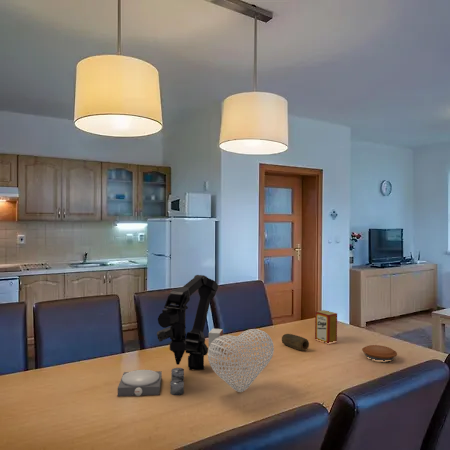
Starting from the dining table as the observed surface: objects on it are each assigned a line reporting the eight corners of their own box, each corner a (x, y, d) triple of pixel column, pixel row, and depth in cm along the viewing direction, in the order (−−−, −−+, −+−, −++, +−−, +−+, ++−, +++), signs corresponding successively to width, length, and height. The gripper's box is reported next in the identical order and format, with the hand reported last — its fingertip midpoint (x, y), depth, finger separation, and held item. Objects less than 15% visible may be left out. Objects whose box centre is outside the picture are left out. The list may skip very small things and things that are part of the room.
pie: (361, 361, 184) (361, 350, 184) (362, 351, 198) (363, 341, 198) (397, 366, 178) (397, 355, 178) (396, 355, 193) (396, 345, 193)
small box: (219, 355, 190) (219, 333, 190) (208, 354, 191) (208, 332, 191) (222, 349, 198) (223, 328, 198) (212, 349, 199) (212, 328, 199)
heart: (226, 410, 134) (226, 344, 134) (198, 394, 146) (199, 334, 146) (281, 388, 152) (282, 331, 152) (253, 376, 164) (254, 322, 164)
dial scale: (161, 378, 161) (161, 368, 161) (159, 395, 145) (159, 384, 145) (123, 379, 159) (123, 369, 159) (117, 396, 144) (117, 385, 143)
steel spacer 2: (183, 389, 151) (183, 379, 151) (183, 395, 146) (183, 384, 146) (170, 390, 150) (170, 379, 150) (170, 395, 145) (170, 384, 145)
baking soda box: (336, 342, 212) (337, 312, 212) (328, 344, 209) (328, 314, 209) (323, 338, 220) (323, 309, 220) (315, 339, 217) (315, 310, 217)
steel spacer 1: (183, 377, 163) (183, 367, 163) (183, 382, 158) (183, 372, 158) (171, 377, 162) (171, 367, 162) (171, 382, 157) (171, 372, 157)
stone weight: (311, 350, 199) (311, 337, 199) (301, 353, 195) (302, 339, 195) (288, 343, 211) (288, 330, 211) (279, 345, 206) (279, 332, 206)
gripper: (159, 316, 168) (159, 353, 168) (156, 328, 150) (156, 369, 150) (185, 316, 169) (185, 352, 169) (186, 328, 151) (185, 368, 151)
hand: (178, 360), depth 160 cm, fingers open, 9 cm apart
